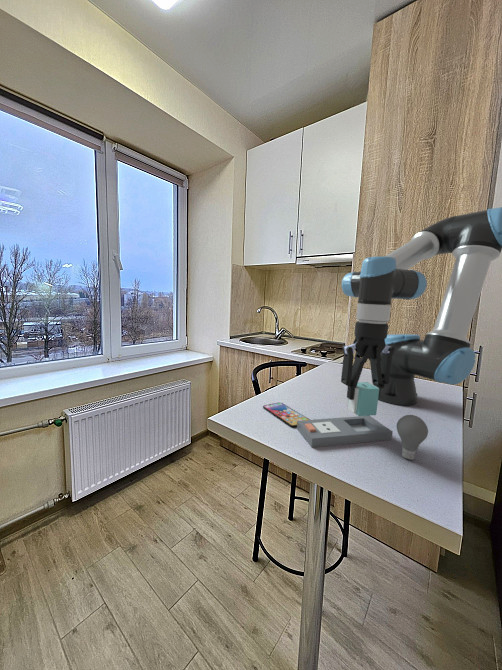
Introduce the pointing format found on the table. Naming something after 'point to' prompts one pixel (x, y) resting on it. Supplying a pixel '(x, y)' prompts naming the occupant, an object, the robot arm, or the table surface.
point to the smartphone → (285, 414)
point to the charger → (367, 399)
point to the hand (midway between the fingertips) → (361, 410)
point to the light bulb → (411, 434)
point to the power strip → (342, 431)
